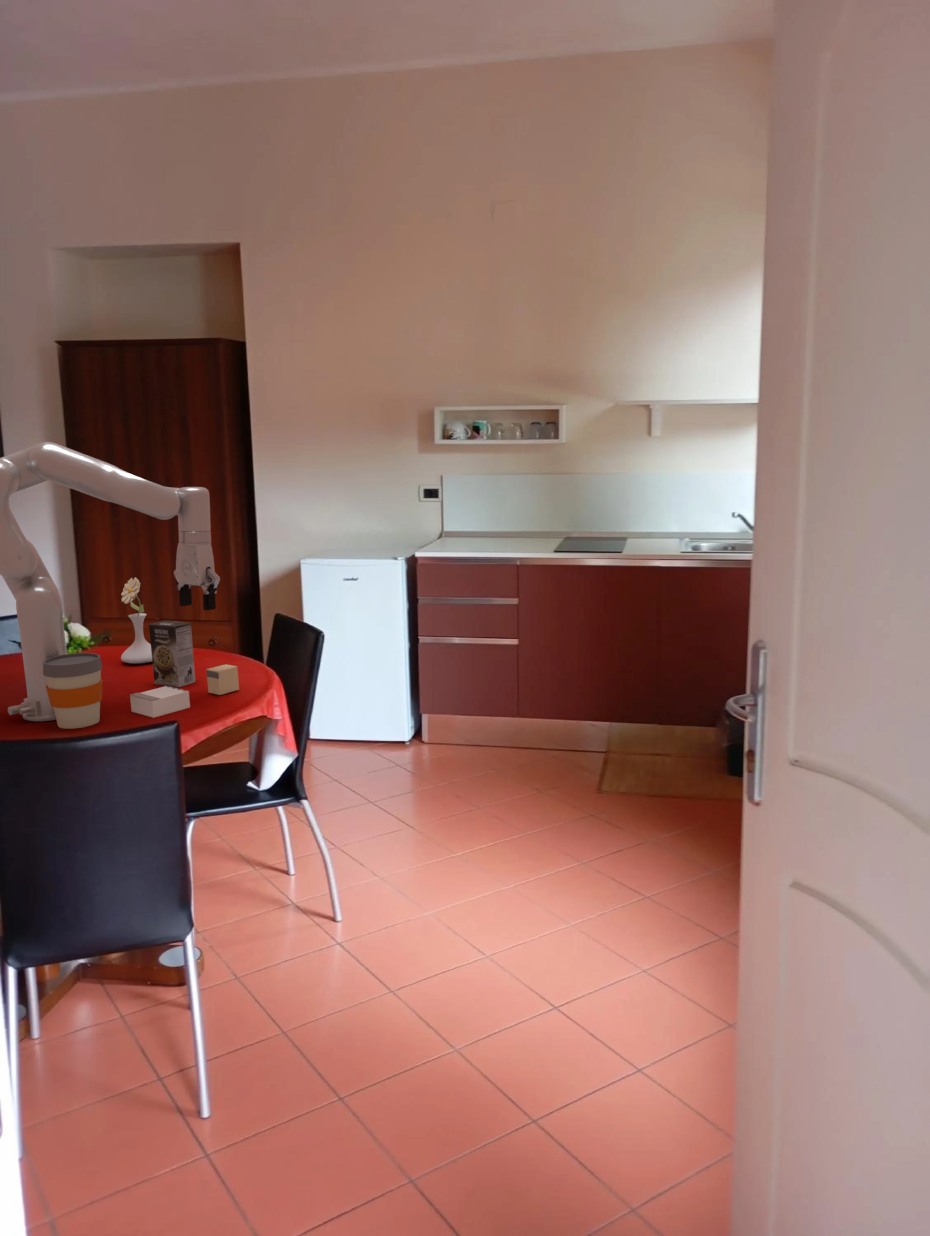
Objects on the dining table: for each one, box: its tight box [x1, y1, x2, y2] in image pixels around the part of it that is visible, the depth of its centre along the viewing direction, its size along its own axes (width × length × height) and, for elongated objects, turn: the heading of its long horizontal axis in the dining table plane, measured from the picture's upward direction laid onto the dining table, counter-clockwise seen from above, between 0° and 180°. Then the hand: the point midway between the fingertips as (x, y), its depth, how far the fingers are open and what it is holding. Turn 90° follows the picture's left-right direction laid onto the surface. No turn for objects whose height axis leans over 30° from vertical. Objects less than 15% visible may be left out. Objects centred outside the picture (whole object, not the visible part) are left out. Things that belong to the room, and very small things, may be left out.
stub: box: [206, 663, 240, 696], centre depth 248 cm, size 6×4×6 cm
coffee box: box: [148, 620, 196, 688], centre depth 258 cm, size 9×6×16 cm
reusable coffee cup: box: [43, 652, 103, 730], centre depth 225 cm, size 13×13×15 cm
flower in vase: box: [120, 577, 152, 665], centre depth 282 cm, size 13×11×25 cm
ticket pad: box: [129, 685, 191, 719], centre depth 234 cm, size 10×9×4 cm
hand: (197, 607), depth 244 cm, fingers open, 9 cm apart
